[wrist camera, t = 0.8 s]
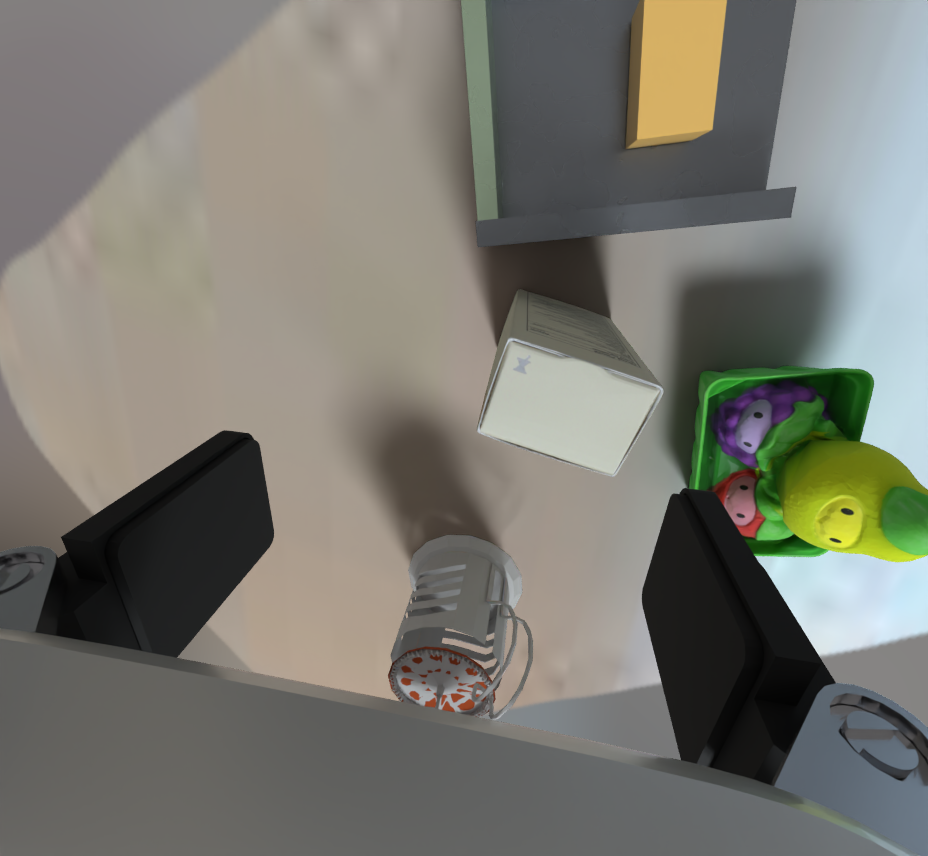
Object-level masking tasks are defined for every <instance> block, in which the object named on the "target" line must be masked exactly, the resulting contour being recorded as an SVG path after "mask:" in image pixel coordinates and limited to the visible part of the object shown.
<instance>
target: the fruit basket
mask: <svg viewBox="0 0 928 856" xmlns="http://www.w3.org/2000/svg"><path fill="white" fill-rule="evenodd" d="M873 387H874V380H873V377H872V375H871V374H869V373H868V372H866V371H864V370H861V369H848V368H832V369H819V368H808V367H798V366H782V367H779V368H776V369H770V368H764V367H762V368H745V369H731V370H727V371H724V372H721V373H719V372H714V371H704V372H702V373H701V374H700V378H699V388H698V396H699V401H700V403H699V405H698V408H697V411H696V419H695V436H696V439H695V442H694V444H693V451H692V462H691V465H692V474H691V476H690V481H689V489H696V490H704V491H712V492H715V493H716V494H717V496H718V497H719V499H720V501H721V502H722V504H723V505H724V507H725V509H726V510H727V512H728V514H729V515H730V517H731V518H732V520H733V522H734V523H735V525H736V526H737V528H738V530H739V531H740V533H741V535H742V536H743V538H744V539H745V541H746V543H747V544H748V546H749V548H750V549H751V551H752V552H753V554H754V556H778V557H816V556H820V555H822V554H824V553H826V552H827V551H829V550H831V551H835V552H842V553H855V554H865V555H869V556H872V557H876V558H879V559H883V560H887V561H892V562H907V561H913V560H916V559H919V558H922V557H925V556H927V555H928V490H927V489H926V488H925V487H923V486H922V485H921V484H920V483H919V482H918V481H917V479H916V478H915V477H914V476H913V474H912V473H911V472H910V470H909V469H908V468H907V467H906V466H905V465H904V464H903V463H902V462H901V461H899V460H898V459H897V458H895V457H894V456H893V455H891V454H890V453H888V452H886V451H884V450H882V449H880V448H877V447H875V446H873V445H870V444H867V443H863V442H860V439H861V435H862V431H863V427H864V424H865V420H866V416H867V412H868V408H869V403H870V400H871V396H872V391H873Z"/></svg>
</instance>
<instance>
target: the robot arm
mask: <svg viewBox="0 0 928 856" xmlns="http://www.w3.org/2000/svg"><path fill="white" fill-rule="evenodd" d="M61 538H62V541H63V543H64V545H65V548H66V550H67V552H66V553H65V554H64V555H62V556H60V557H59V558H58V557H57V555H56V553H55V552H54V551H53V550H51V549H50V548H46V547H42V546H26V547H20V548H14V549H9V550H6V551H3V552H0V856H928V727H926V726H925V725H924V724H923V723H922V722H921V721H920V720H918V718H916V717H915V716H914V715H913V714H911V713H910V712H908V711H907V710H905V709H904V708H902V707H901V706H899V705H898V704H897V703H895V702H893V701H892V700H890V699H888V698H886V697H883V696H882V695H880V694H878V693H876V692H874V691H871V690H868V689H865V688H862V687H859V686H856V685H852V684H842V683H835V681H834V679H833V678H832V676H831V675H830V673H829V671H828V670H827V668H826V667H825V665H824V663H823V662H822V660H821V658H820V657H819V655H818V654H817V652H816V650H815V649H814V647H813V646H812V644H811V642H810V641H809V639H808V638H807V636H806V634H805V633H804V631H803V630H802V628H801V626H800V625H799V623H798V622H797V620H796V618H795V617H794V615H793V614H792V612H791V610H790V609H789V607H788V606H787V604H786V602H785V601H784V599H783V598H782V596H781V594H780V593H779V591H778V590H777V588H776V586H775V585H774V583H773V582H772V580H771V578H770V577H769V575H768V574H767V572H766V570H765V569H764V568H763V567H762V565H761V564H760V563H759V562H758V560H757V559H756V557H755V556H754V554H753V552H752V551H751V549H750V548H749V546H748V544H747V543H746V541H745V539H744V538H743V536H742V535H741V533H740V531H739V530H738V528H737V526H736V525H735V523H734V522H733V520H732V518H731V517H730V515H729V514H728V512H727V510H726V509H725V507H724V505H723V504H722V502H721V501H720V499H719V497H718V496H717V494H716V493H715V492H712V491H704V490H696V489H688V488H684V489H682V491H681V492H680V494H672V496H671V497H670V500H669V503H668V506H667V510H666V513H665V516H664V520H663V523H662V526H661V530H660V533H659V536H658V540H657V543H656V546H655V550H654V553H653V556H652V560H651V563H650V566H649V570H648V573H647V576H646V580H645V583H644V586H643V591H642V605H643V610H644V614H645V618H646V622H647V626H648V630H649V634H650V638H651V642H652V646H653V650H654V654H655V658H656V662H657V666H658V670H659V674H660V678H661V682H662V686H663V689H664V694H665V697H666V701H667V705H668V709H669V713H670V717H671V721H672V725H673V729H674V733H675V737H676V741H677V745H678V749H679V753H680V757H681V760H677V759H673V758H667V757H663V756H659V755H654V754H650V753H645V752H640V751H636V750H632V749H627V748H623V747H618V746H613V745H609V744H605V743H600V742H595V741H591V740H587V739H582V738H577V737H572V736H567V735H563V734H558V733H552V732H548V731H543V730H538V729H533V728H528V727H523V726H518V725H514V724H508V723H504V722H498V721H494V720H489V719H484V718H479V717H474V716H469V715H465V714H460V713H455V712H450V711H445V710H440V709H435V708H430V707H425V706H420V705H415V704H410V703H405V702H400V701H395V700H390V699H385V698H380V697H375V696H370V695H365V694H360V693H355V692H350V691H345V690H340V689H335V688H330V687H325V686H319V685H314V684H309V683H304V682H299V681H294V680H289V679H284V678H279V677H274V676H269V675H264V674H258V673H253V672H248V671H242V670H238V669H233V668H227V667H222V666H217V665H211V664H206V663H201V662H196V661H190V660H185V659H180V658H177V657H178V655H180V653H181V652H182V651H183V650H184V648H185V647H186V646H187V645H188V644H189V643H190V641H191V640H192V639H193V638H194V637H195V635H196V634H197V633H198V632H199V631H200V629H201V628H202V627H203V626H204V625H205V623H206V622H207V621H208V620H209V619H210V618H211V616H212V615H213V614H214V613H215V612H216V610H217V609H218V608H219V607H220V606H221V604H222V603H223V602H224V601H225V600H226V598H227V597H228V596H229V595H230V594H231V592H232V591H233V590H234V589H235V588H236V586H237V585H238V584H239V583H240V582H241V580H242V579H243V578H244V577H245V576H246V575H247V573H248V572H249V571H250V570H251V569H252V567H253V566H254V565H255V564H256V563H257V561H258V560H259V559H260V558H261V557H262V555H263V554H264V553H265V552H266V551H267V549H268V548H269V547H270V545H271V543H272V541H273V538H274V528H273V522H272V516H271V510H270V504H269V498H268V493H267V487H266V481H265V475H264V469H263V463H262V457H261V451H260V446H259V443H258V442H257V441H256V440H254V439H253V437H252V436H251V435H250V434H249V433H242V432H234V431H222V432H220V433H218V434H217V435H215V436H214V437H212V438H210V439H209V440H207V441H206V442H204V443H203V444H201V445H200V446H198V447H197V448H195V449H194V450H192V451H191V452H189V453H188V454H186V455H185V456H183V457H182V458H180V459H179V460H177V461H176V462H174V463H173V464H171V465H170V466H168V467H167V468H165V469H164V470H162V471H160V472H159V473H157V474H156V475H154V476H153V477H151V478H150V479H148V480H147V481H145V482H144V483H142V484H141V485H139V486H138V487H136V488H135V489H133V490H132V491H130V492H129V493H127V494H126V495H124V496H123V497H121V498H120V499H118V500H117V501H115V502H114V503H112V504H110V505H109V506H107V507H106V508H104V509H103V510H101V511H100V512H98V513H97V514H95V515H94V516H92V517H91V518H89V519H88V520H86V521H85V522H83V523H82V524H80V525H79V526H77V527H76V528H74V529H73V530H71V531H70V532H68V533H67V534H65V535H64V536H62V537H61Z"/></svg>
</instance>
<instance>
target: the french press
mask: <svg viewBox="0 0 928 856" xmlns="http://www.w3.org/2000/svg"><path fill="white" fill-rule="evenodd" d="M408 571H409V576H410V581H411V587H412V588H413V592H412V594H411V598H410V600H411V599H412V604H410V601H409V604H408V606H407V609H406V612H408V618H406V616H405V615H404V618H403V620H402V623H401V626H400V629H399V632H398V635H397V638H396V641H395V644H394V647H393V650H392V653H391V659H392V666H391V669H390V672H389V674H388V678H389V682H390V686H391V689H392V691H393V692H394V694H395V695H396V696H397V698H398V699H399V700H400V701H401V702H405V703H410V704H415V705H420V706H425V707H430V708H435V709H440V710H445V711H450V712H455V713H460V714H465V715H469V716H474V717H481V716H482V715H485V714H486V713H487V712H489V716H490V718H491V719H498V718H499V717H501V716H502V715H503V714H504V713H505V712H506V711H507V710H508V709H509V708H510V707H511V706H512V705H513V704H514V702H515V700H516V699H517V697H518V696H519V694H520V692H521V691H522V689H523V686H524V684H525V681H526V679H527V676H528V673H529V671H530V667H531V664H532V659H533V639H532V635H531V631H530V629H529V627H528V625H527V624H526V622H525V621H524V620H522V619H520V618H518V617H516V616H515V613H514V611H513V608H515V606H516V604H517V602H518V600H519V598H520V596H521V594H522V580H521V574H520V572H519V570H518V568H517V567H516V565H515V563H514V562H513V560H512V558H511V557H510V556H509V555H507V554H506V553H505V552H504V551H502V550H501V549H500V548H498V547H497V546H496V545H495V544H493V543H491V542H488V541H485V540H482V539H479V538H476V537H474V536H471V535H445V536H442V537H439V538H436V539H433V540H430V541H427V542H426V543H425V544H424V545H423V546H422V547H421V548H420V549H419V550H417V551H416V552H415V553H414V554H413V558H412V561H411V564H410V567H409V570H408ZM414 591H415V592H414ZM415 597H416V600H415ZM411 610H412V612H411ZM406 612H405V614H406ZM508 612H510V614H511V616H508ZM507 619H509V620H512V621H513V635H512V645H511V647H510V650H509V653H508V655H507V658H506V661H505V663H504V665H503V659H504V649H505V639H506V628H507ZM517 621H518V622H520V623H521V624H523V626H524V628H525V630H526V633H527V635H528V655H529V659H528V662H527V666H526V670H525V673H524V676H523V678H522V680H521V683H520V685H519V687H518V689H517V691H516V692H515V694H514V695H513V697H512V699H511V700H510V702H509V703H508V704H507V705H506V706H505V707H504V708H503V709H502V710H500V711H499V712H498V713H497V714H496V715H493V708H494V706H493V703H494V701H495V690H496V689H497V688H498V687H499V684H500V681H501V679H502V675H503V674H504V672H505V670H506V669H507V667H508V666H509V664H510V661H511V658H512V655H513V652H514V649H515V646H516V638H517V625H518V624H517ZM445 628H449V629H454V630H457V631H459V632H462V633H465V634H468V635H470V636H468V635H464V634H460V633H456V632H451V631H445ZM493 633H495V635H494V639H492V640H489V641H486V636H487V635H490V634H493ZM402 636H403V638H402V640H401V637H402ZM471 636H473V637H471ZM443 638H449V639H455V640H458V641H462V642H466V643H469V644H473V645H476V646H480V647H484V648H489V647H492V646H493V652H492V653H489V654H487V655H485V654H481V653H477V652H474V651H471V650H469V649H465V648H462V647H458V646H454V645H449V644H443V643H442V639H443ZM495 658H496V659H497V660H498V661H497V662H496V664H495V665H494V666H493V667H490V668H487V669H483V667H482V666H481V665H479V664H478V663H477V662H475V661H474V660H472V659H475V660H478V661H481V662H484V663H486V662H488V661H491V660H494V659H495ZM499 665H500V671H499V672H498V674H497V675H496V677H495V679H494V680H493V682H492V680H491V679H490V677H489V676H490V675H493V674H494V673H495V671H496V669H497V668H498V666H499Z"/></svg>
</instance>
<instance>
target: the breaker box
mask: <svg viewBox="0 0 928 856" xmlns="http://www.w3.org/2000/svg"><path fill="white" fill-rule="evenodd" d="M639 1H640V0H461V7H462V20H463V34H464V47H465V60H466V73H467V87H468V100H469V113H470V126H471V140H472V153H473V166H474V179H475V193H476V206H477V219H478V221H476V233H477V246H478V247H486V246H497V245H507V244H518V243H528V242H539V241H549V240H560V239H570V238H581V237H591V236H601V235H612V234H622V233H633V232H643V231H654V230H664V229H675V228H685V227H696V226H706V225H717V224H727V223H738V222H748V221H759V220H769V219H780V218H790V217H791V213H792V208H793V202H794V197H795V192H796V187H790V188H780V189H771V190H766V185H767V179H768V173H769V167H770V161H771V154H772V148H773V142H774V136H775V130H776V123H777V117H778V111H779V105H780V99H781V92H782V86H783V80H784V74H785V68H786V61H787V55H788V49H789V43H790V37H791V30H792V24H793V18H794V12H795V6H796V0H727V4H726V13H725V22H724V31H723V40H722V49H721V58H720V67H719V75H718V84H717V93H716V102H715V111H714V120H713V129H712V130H711V131H709V132H707V133H705V134H703V135H701V136H700V137H698V138H696V139H694V140H692V141H686V142H678V143H670V144H662V145H655V146H647V147H639V148H631V149H626V132H627V110H628V88H629V66H630V44H631V22H632V17H633V15H634V12H635V10H636V8H637V5H638V3H639Z"/></svg>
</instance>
